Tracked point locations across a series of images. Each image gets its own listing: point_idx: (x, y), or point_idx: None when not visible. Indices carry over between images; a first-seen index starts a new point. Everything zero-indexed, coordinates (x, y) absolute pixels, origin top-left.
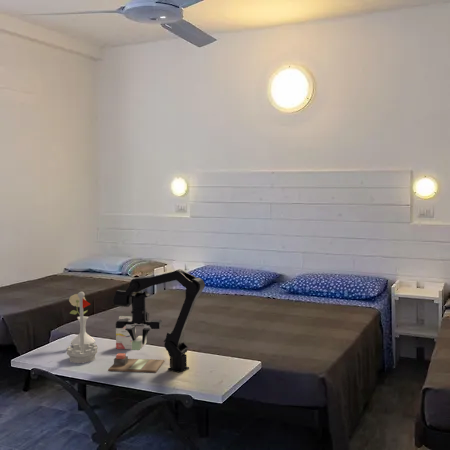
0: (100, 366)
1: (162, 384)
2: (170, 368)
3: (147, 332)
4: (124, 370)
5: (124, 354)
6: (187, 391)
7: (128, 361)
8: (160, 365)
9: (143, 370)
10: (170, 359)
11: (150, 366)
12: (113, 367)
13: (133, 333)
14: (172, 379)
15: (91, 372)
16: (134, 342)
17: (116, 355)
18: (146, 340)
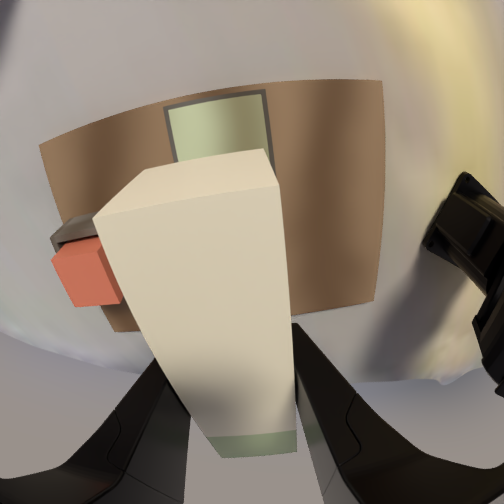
0: (41, 275)
1: (399, 376)
2: (437, 245)
3: (391, 451)
4: None
5: (108, 279)
6: (452, 380)
7: (123, 185)
8: (382, 201)
9: (305, 312)
10: (464, 256)
11: (328, 249)
12: (119, 310)
13: (175, 494)
14: (432, 336)
15: (76, 346)
16: (247, 456)
17: (77, 306)
18: (267, 158)
